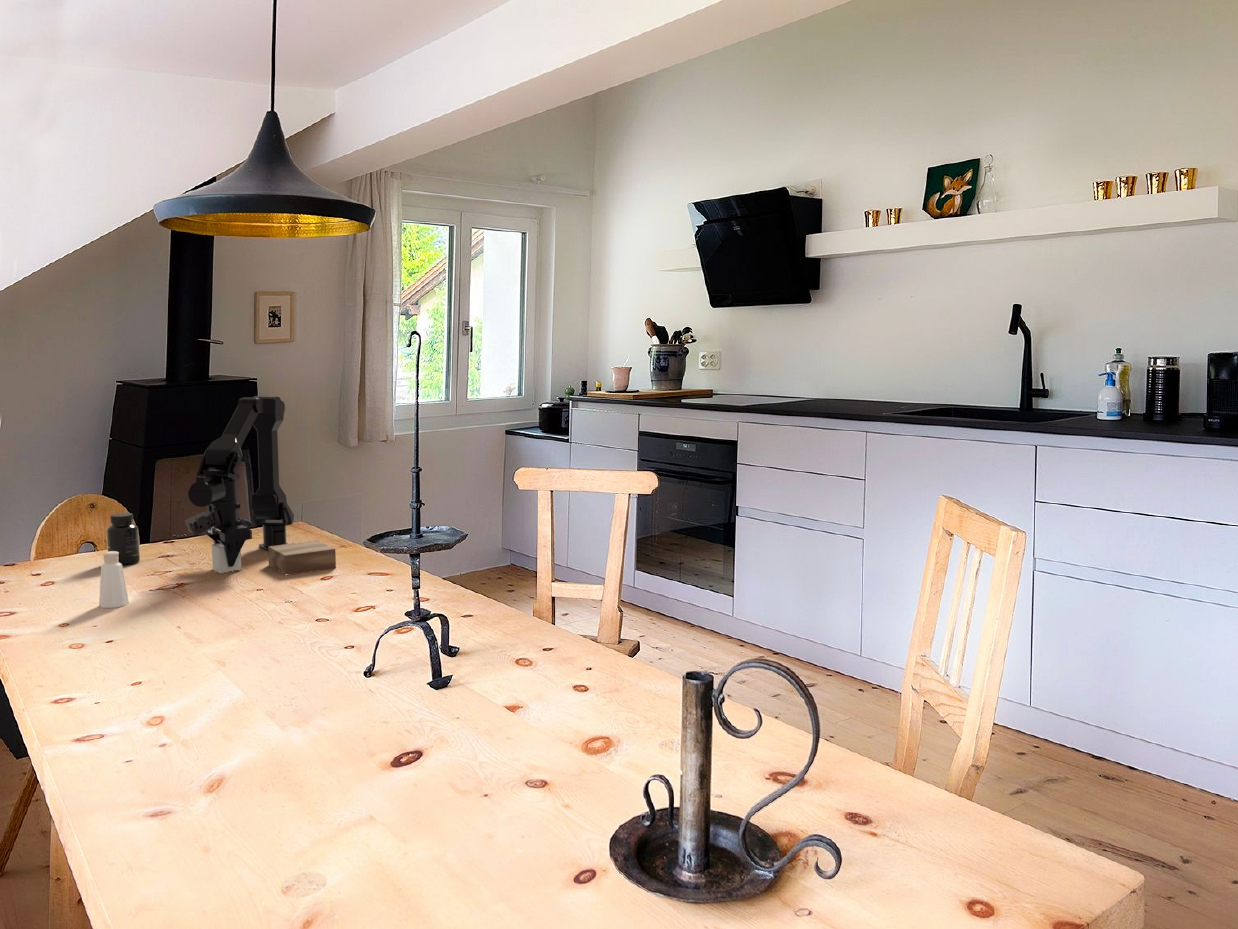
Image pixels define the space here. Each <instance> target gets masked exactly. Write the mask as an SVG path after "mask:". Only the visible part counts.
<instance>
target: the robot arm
mask: <svg viewBox="0 0 1238 929" xmlns="http://www.w3.org/2000/svg"><path fill="white" fill-rule="evenodd" d="M236 406H237V407H236V408H235V411H234V412H233V414H232V417H231V418H230V420H229V422H228V423H227V424H226V425H227V426H226V427H225V429H224V431H223V433H222V435H221V436H220V437H218V438H217V439H215V440H212V442H211V443H210V444H209V445H208V446H207V448H206V449H205V451H204V453H203V455H202V459H201V461H200V464H199V467H198V470H197V473H196V477H195V479H196V480H195V482H193V483H192V484H191V485H190V487H189V488H188V489H189V490H188V492H187V495H188V499H189V501H190V502H191V504H193V506H195V507H199V508H204V507H206V508H207V510H205V511H203V512H200V513H198V514H195V515H194V516H192V517H191V516H190V517H189V518H186V519H185V520H184V522H185V525H186V527H187V531H188V532H189V534H192V535H193V536H197V535H201V534H202V533H203V532H206V533H204V535H205V536H206V537H208V538H209V539H211V540H212V542H213V544H220V543H221V544H222V545H224V549H225V554H226V559H227V563H228V566H229V567H233V566H234V564H235V561H236V559H237V557H238V555H239V553H240V550H241V551H242V549H243V546H244V544H245V542H246V541H248V540H249V541H250V540H252V539H253V531H252V530H251V529H250V528H249V527H248V526H246V525H243V524H242V522H241V520H239V517H238V516H239V514H238V511H239V510H238V509H241V504H240V503H239V502H238V491H237V479H240V476H241V475H240V474H239V473H238V472H237V471H238V470H239V467H240V466H241V464H242V459H243V455H244V454H243V452H242V447H243V444H244V442H245V440H246V438H247V437H248V434H249V433H250V431H251V429H252V428H253V427H254V429H255V430H256V432H257V433H256V434H257V458H258V459H257V461H258V485H259V486H258V489H257V490H256V492H255V493H253V494H252V496H251V513H252V519H253V522H254V525H255V526H258V525H259V526H262V542H263V543H260V544H258V547H259V548H261V549H264V550H267V551H268V546H276V545H284V544H289V543H288V542H287V526H291V525H292V526H293V524H294V520H295V519H294V518H295V514H294V512H293V511H292V509H291V508H290V506H289V504H288V501H287V495H286V493H285V492H284V490H283V489H282V488H281V485H280V471H279V470H280V468H279V465H280V464H279V444H278V441H279V440H278V430H279V428H280V427H281V425H282V423H283V421H284V415H285V411H286V405H285V402H284V401H283V400H282V399H281V397H279V396H270V395H268V396H267V395H266V396H264V395H255V396H253V397H241V398H239V399H238V401H237V405H236Z"/></svg>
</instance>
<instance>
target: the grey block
mask: <svg viewBox="0 0 1238 929" xmlns="http://www.w3.org/2000/svg"><path fill="white" fill-rule="evenodd" d="M211 558H212V559H211V561H212V570H213V571H215V572H217V573H219V574H225V573H230V572H229V571H232V572H234V571H233V570H239V571H242V549H241V550H240V553H239V555H238V557H237V559H236V561H235V564H234V566H233V567H229V566H228V563H227V559H226V554H225V549H224V545H222V544H221V543H220V544H214V543H213V544H211ZM224 572H225V573H224Z"/></svg>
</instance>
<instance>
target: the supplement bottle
mask: <svg viewBox="0 0 1238 929" xmlns="http://www.w3.org/2000/svg"><path fill="white" fill-rule="evenodd" d="M134 520H135V519H134V514H133V513H129V512H119V513H113V514H111V515H110V524H111V525H109V526H108V527H107V528H106V544H107V552H109V551H116V552H118V553H119V555H118V561H119V563H121V564H122V567H125V566H132V565H136V564H138V563H139V562H140V560H141V556H140V555H141V554H140V540H139V539H140V536H139V527H138V525H136V524H134V523H133V522H134Z"/></svg>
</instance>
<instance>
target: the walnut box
mask: <svg viewBox="0 0 1238 929" xmlns="http://www.w3.org/2000/svg"><path fill="white" fill-rule="evenodd" d="M267 552H268V566H269V565H270V566H269V567H271V566H272V567H271V568H273V569H274V568H275V569H274V570H276V571H278V570H279V571H280V572H279V571H278V572H279V573H281V572H282V573H281V574H283V575H285V574H291V575H295V574H297V575H298V574H304V573H311V572H310V571H312V572H317V570H319V571H325V570H331V569H336V568H337V558H336V553H337V552H336V548H334V547H332V546H329V545H328V544H326V543H323V542H321V541H319V540H309V541H303V542H295V543H288V544H284V545H276V546H268V550H267ZM303 572H304V573H303Z"/></svg>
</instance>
